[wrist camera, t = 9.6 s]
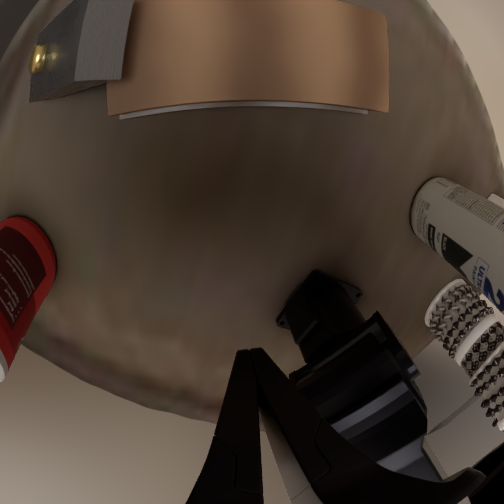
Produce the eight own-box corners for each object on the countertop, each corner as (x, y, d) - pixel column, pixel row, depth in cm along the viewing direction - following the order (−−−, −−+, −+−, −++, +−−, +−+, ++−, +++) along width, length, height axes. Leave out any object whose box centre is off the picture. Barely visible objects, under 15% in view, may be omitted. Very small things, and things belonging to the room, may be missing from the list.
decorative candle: (470, 293, 31) (557, 404, 10) (430, 335, 33) (506, 455, 12) (462, 264, 27) (575, 396, 5) (415, 314, 29) (512, 464, 8)
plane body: (362, 23, 13) (389, 13, 10) (363, 113, 17) (391, 117, 14) (121, 18, 10) (104, 1, 8) (122, 119, 14) (103, 122, 11)
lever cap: (135, -9, 7) (80, -18, 4) (120, 79, 9) (59, 82, 7) (68, 33, 10) (28, 35, 7) (60, 97, 12) (20, 104, 10)
